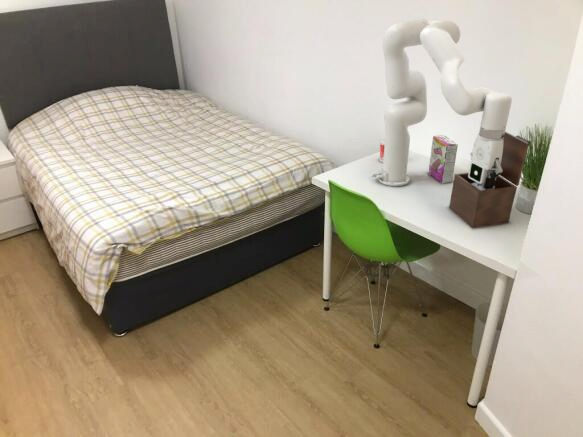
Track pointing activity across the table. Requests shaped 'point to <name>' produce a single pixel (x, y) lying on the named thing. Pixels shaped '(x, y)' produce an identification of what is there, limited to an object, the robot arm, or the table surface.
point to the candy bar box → (442, 158)
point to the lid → (513, 157)
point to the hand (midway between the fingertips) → (481, 183)
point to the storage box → (482, 201)
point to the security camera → (478, 175)
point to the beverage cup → (382, 149)
